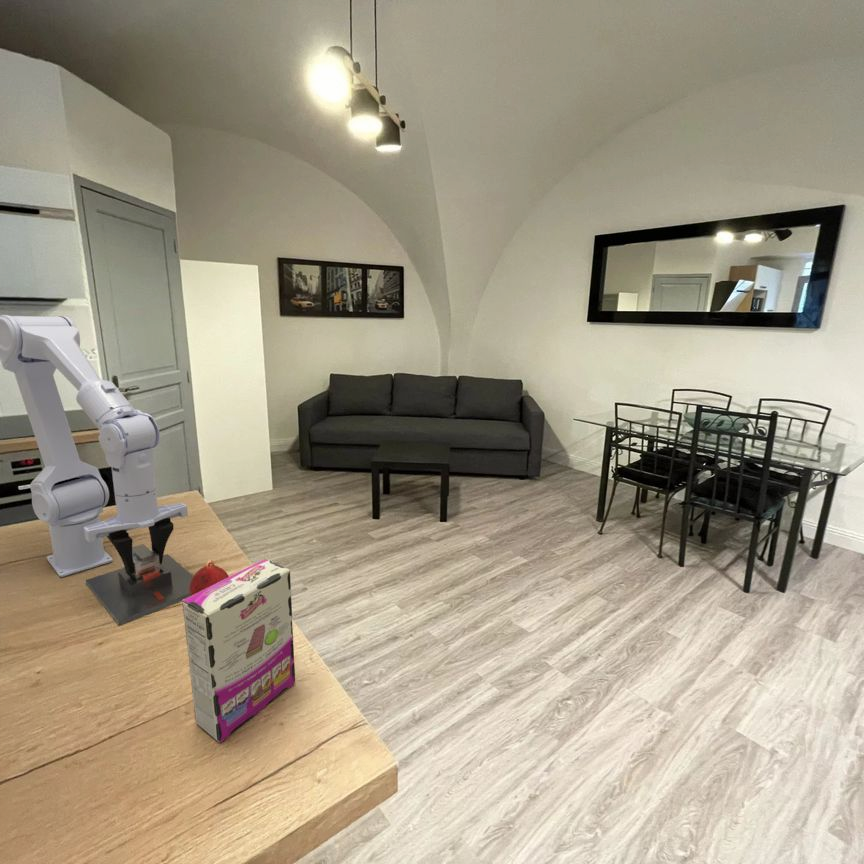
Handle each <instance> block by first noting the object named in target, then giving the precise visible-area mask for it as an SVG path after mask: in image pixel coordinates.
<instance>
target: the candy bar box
mask: <svg viewBox="0 0 864 864" xmlns="http://www.w3.org/2000/svg"><path fill="white" fill-rule="evenodd" d="M291 584H292V583H291V569H290V568H287V567H285V566H282V565H279V564H277V563H276V562H272V561H271V560H270V559H266V558H265V559H262V560H260V561H258V562H256V563H254V564H252V565H249V566H248V567H246V568H243V569H241V570H239V571H238V572H236V573H234V574H232V575H230V576H229V577H228V578H226V579H224V580H222V581H220V582H218V583H216V584H214V585H212V586H210V587H208V588H206V589H204V590H202V591H200V592H198V593H196V594H194V595H192V596H190V597H188V598H186V599H184V600H182V601H181V602H182V612H183V621H184V628H185V637H186V638H185V639H186V647H187V655H188V663H189V664H188V665H189V674H190V676H189V677H190V682H191V692H192V702H193V711H194V720H195V724H196V725H197V726H198V727H199V728H200V729H201V730H202V731H204V732H206V733H207V734H208V735H209V736H210V737H211V738H213V739H214V740H215V741H217V742H218V743H219V744H221V743H222V742H224V741H225V740H226V739H228V738H229V737H230V736H231V735H233V733H235V732H236V731H238V730H239V729H240V728H241V727H242V726H243V725H245V724H246V723H248V722H249V721H250V720H251V719H252V718H254V717H255V716H256V715H257V714H258V713H260V712H261V711H262V710H263V709H265V708H266V707H267V706H269V705H270V704H271V703H272V702H273V701H274V700H275V699H277V698H278V697H280V695H282V694H283V693H284V692H286V690H288V689H289V688H291V687H292V686H293V685H294V684H295V683H296V671H295V652H294V647H295V646H294V632H293V630H294V629H293V611H292V610H293V609H292V604H293V603H292V585H291Z"/></svg>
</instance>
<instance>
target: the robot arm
mask: <svg viewBox="0 0 864 864" xmlns="http://www.w3.org/2000/svg"><path fill="white" fill-rule="evenodd" d="M0 363H1V365H2V368H3V369H4V370H6V371H8V372H11V373H14V376H15V380H16V382H17V386H18V389H19V392H20V394H21V398H22V401H23V405H24V406H25V410H26V414H27V416H28V419H29V423H30V426H31V428H32V429H31V430H32V433H33V435H34V438H35V441H36V444H37V447H38V449H39V453H40V455H41V459H42V462H43V465H44V468H43V469H42V470H41V471H40V472H39V474H38V475H37V476H35V478H34V479H33V480H32V481H31V482H30V484H29V485H30V491H31V504H32V508H33V509H32V510H33V512H34V514H35V515H36V517H37V518H38V519H39V520H40V521H41V522H43V523H45V524H47V525H49V526H48V528H49V535H50V537H49V538H50V541H51V548H52V549H51V550H52V554H50V555H47V556H46V559H47V561H48V562H49V564H50V566H51V567H52V568H53V570H54V571H55V572H56V574H57V575H58V576H59V577H60V578H62V577H66V576H70V575H73V574H75V573H76V574H77V573H80V572H83V571H87V570H89V569H92V568H96V567H100V566H102V565H106V564H108V563H112V562H113V558H112V557H111V555H110V554H109V553H107V551H106V550H105V549H104V540H103V538H105V537H107V539H108V540H109V542H110V543H111V544H112V545H113V548H115V550H116V552H117V553H118V555H119V557H120V558H121V561H122V563H123V566H124V568H125V570H126V571H127V572H128V573H129V574H132V573H134V563H133V557H132V547H133V543H134V542H133V540H134V539H133V538H131V536H130V534H129V532H127V531H130V530H134V529H137V528H140V529H145V528H146V529H147V528H148V531H149V537H150V541H151V544H150V545H151V549H152V550H153V551H154V552H155V553H157V554H158V555H159V562H160V564H162V560H163V555H165V554H164V553H165V549H166V546H167V543H168V540H169V539H170V536H171V535H172V533H173V531H174V523H173V522H172V521H171V519H175V518H178V517H180V518H184V517H188V505H186V504H185V503H184V502H178V503H174V504H168V505H167V504H166V505H159V503H158V494H157V482H156V473H155V463H154V452H153V449H155V448H156V447H157V446H158V445H159V443H160V438H161V434H160V433H161V432H160V429H159V426H158V424H157V421H156V420H155V418H154V417H153V416H152V415H151V414H149V413H146V412H142V410H140V409H135V408H134V407H133V406H132V404H131V403H130V402H129V401H128V400H127V398H126V397H125V396H124V395H123V393H122V392H121V391H120V389H119V388H118V387H117V386H116V384H114V383H113V382H112V381H110V380H106V379H101V378H100V376H99V375H98V373H97V371H96V370H95V368H94V367H93V365H92V364H91V362H90V360H88V358H87V356H86V355H85V353H84V352H83V350H82V349H81V336H80V331H79V329H78V328H77V326H76V324H75V323H74V321H73V320H72V319H71V318H69V317H68V316H66V315H58V316H42V315H41V316H40V315H39V316H33V315H30V316H27V315H26V316H25V315H23V316H22V315H8V314H0ZM56 370H58V371H59V372H60V373H61V374H62V375H63V376H64V378H65V379H66V380H67V381H68V382H69V383H70V384H71V385H72V386H73V387H74V388H75V389H76V390H77V391H78V392H77V395H76V396H75V397H76V398H75V399H76V402H77V404H78V405H79V407H80V408H81V409H82V410H83V412H84V413H85V414H86V415H87V416H88V418H89V419H90V421H91V422H92V423H93V424H94V426H95V427H96V428H97V429H98V431H99V435H98V437H97V438H98V442H99V446H100V447H101V449H102V452H103V453H104V455H105V460H106V463H107V465H108V466H109V467H111V474H112V483H113V492H114V501H115V509H116V515H115V516H112V517H110V518H107V519H104V520H102V521H101V518H100V514H103V512H104V509H103V508H104V507H106V505H108V502H109V499H110V491H109V487H108V485H107V483H106V481H105V480H104V479H103V478H102V475H101V473H100V470H99V468H98V467H97V466H94V465H92V464H89V463H87V462H84V461H82V460H81V459H80V456H79V452H78V450H77V446H76V443H75V441H74V437H73V433H72V430H71V427H70V424H69V421H68V418H67V415H66V412H65V409H64V405H63V402H62V399H61V395H60V393H59V390H58V386H57V382H56V380H55V377H54V374H55V372H56ZM74 478H76V479H74ZM77 478H78V479H77ZM71 479H74V480H71ZM66 480H67V482H63V481H66ZM68 480H70V481H68ZM59 482H63V483H60V484H57V483H59ZM55 484H56V485H55Z"/></svg>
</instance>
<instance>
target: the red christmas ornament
mask: <svg viewBox="0 0 864 864" xmlns="http://www.w3.org/2000/svg"><path fill="white" fill-rule="evenodd" d="M193 576H194V577H193V578H192V580H191V583H190V594H191V596H192V595H194V594H196V593H198V592H200V591H202V590H204V589H206V588H208V587H210V586H212V585H214V584H216V583H218V582H220V581H222V580H224V579H226V578H228V577H230V576H229V575H228V573H227V571H225V569H223V568H222V567H220V566H217V565H215V561H214V560H212V559H211V560H208V561H206V563H205V565H204V566H203V567H202V568H200V569H199V570H197V571H196V572H195V574H193Z"/></svg>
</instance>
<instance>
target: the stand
mask: <svg viewBox="0 0 864 864" xmlns="http://www.w3.org/2000/svg"><path fill="white" fill-rule="evenodd" d="M160 572H161V573H160ZM160 572H159V571H158V570H156V571H153V572H150V573H147V574H144V575H142V579H141V580H138V581H134V580H133V579H132V578H131V577H130V576H129V573H128V572H127V571H126V570H125V567H123V568H120V569H116V570H112V571H110V572H106V573H105V574H104V573H103V574H101V575H97V576H94V577H91V578H87V579H86V580H85V585H86V586H87V588H89V589H90V591H91V592H92V593H93V595H94V596H95V597H96V599H98V602H100V604H101V605H102V607H104V609H105V610H106V611H107V613H108V614H109V615H110V617H111V618H112V619H113V620H114V621H115V623H116V624H117V626H122V625H124V624H127V623H129V622H132V621H134V620H137V619H140V618H143V617H145V616H147V615H150V614H153V613H155V612H157V611H160V610H162V609H165V608H167V607H169V606H172V605H175V604H177V603H180V602H182V600H184V599H186V598H188V597H190V596H191V594H190V583H191V580H192V578H193V577H194V574H192V573H191V572H190V571H189V570H187V569H186V568H184V567H183V566H182V565H181V564H180V563H179V562H177V560H175V559H174V558H173V557H172V556H171V555H169V554H168V553H166V554H163V560H162V564H160Z"/></svg>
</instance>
